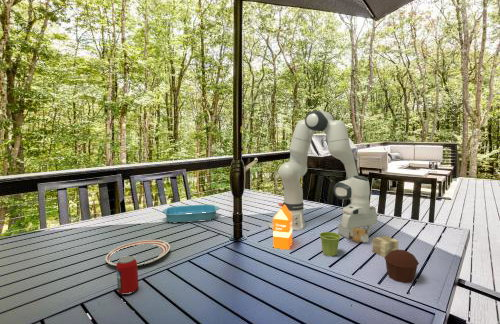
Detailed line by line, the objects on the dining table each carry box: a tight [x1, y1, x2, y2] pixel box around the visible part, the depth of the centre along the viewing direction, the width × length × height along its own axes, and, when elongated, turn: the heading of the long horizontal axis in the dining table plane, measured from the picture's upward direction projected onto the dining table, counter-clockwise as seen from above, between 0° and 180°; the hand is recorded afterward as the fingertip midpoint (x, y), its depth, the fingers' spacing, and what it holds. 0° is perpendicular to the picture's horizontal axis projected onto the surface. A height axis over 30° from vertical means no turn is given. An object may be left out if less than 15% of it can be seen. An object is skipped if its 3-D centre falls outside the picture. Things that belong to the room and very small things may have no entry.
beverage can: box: [115, 256, 139, 294], centre depth 99 cm, size 7×7×12 cm
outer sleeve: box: [337, 223, 359, 241], centre depth 149 cm, size 7×8×6 cm
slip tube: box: [337, 224, 369, 243], centre depth 147 cm, size 4×19×6 cm, turn 22°
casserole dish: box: [162, 204, 220, 223], centre depth 185 cm, size 37×22×7 cm, turn 102°
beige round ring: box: [105, 239, 171, 267], centre depth 128 cm, size 27×27×3 cm
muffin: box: [383, 249, 420, 284], centre depth 106 cm, size 12×11×10 cm
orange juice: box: [272, 204, 293, 251], centre depth 137 cm, size 8×9×20 cm
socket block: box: [372, 235, 400, 258], centre depth 127 cm, size 8×7×6 cm
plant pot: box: [319, 231, 342, 257], centre depth 128 cm, size 9×9×9 cm
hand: (359, 234), depth 142 cm, fingers open, 8 cm apart
